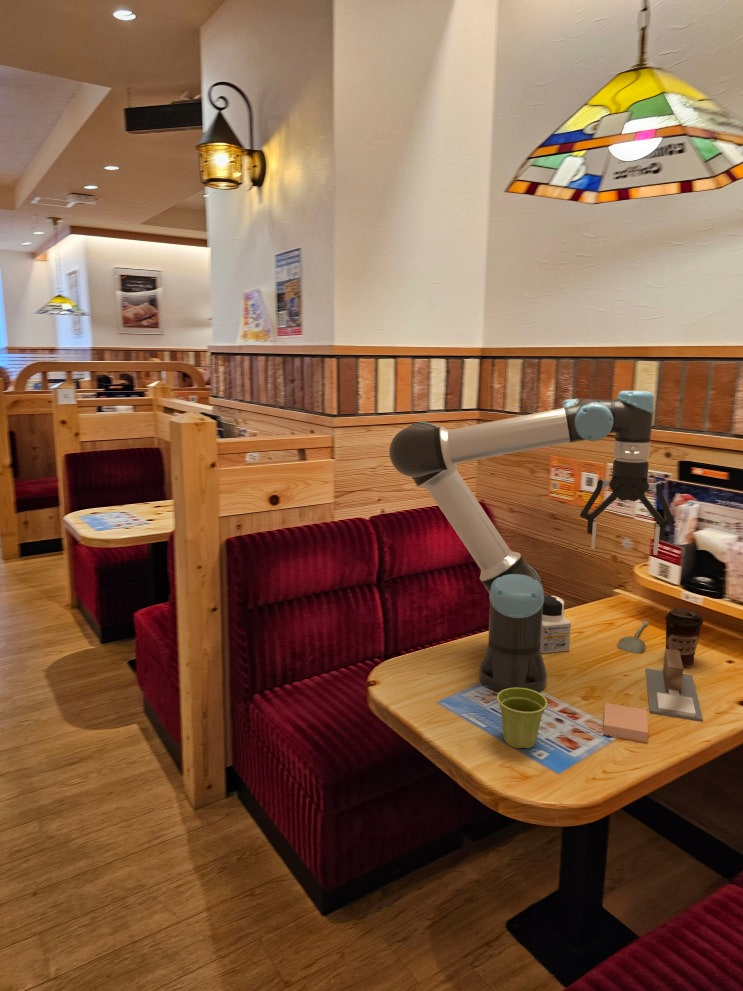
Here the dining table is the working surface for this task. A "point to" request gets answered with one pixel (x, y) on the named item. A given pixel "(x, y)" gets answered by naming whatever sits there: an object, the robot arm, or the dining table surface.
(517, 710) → the plant pot
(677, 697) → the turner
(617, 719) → the tile
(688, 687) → the mat
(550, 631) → the container
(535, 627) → the robot arm
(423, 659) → the dining table surface
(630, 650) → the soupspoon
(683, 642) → the coffee cup
